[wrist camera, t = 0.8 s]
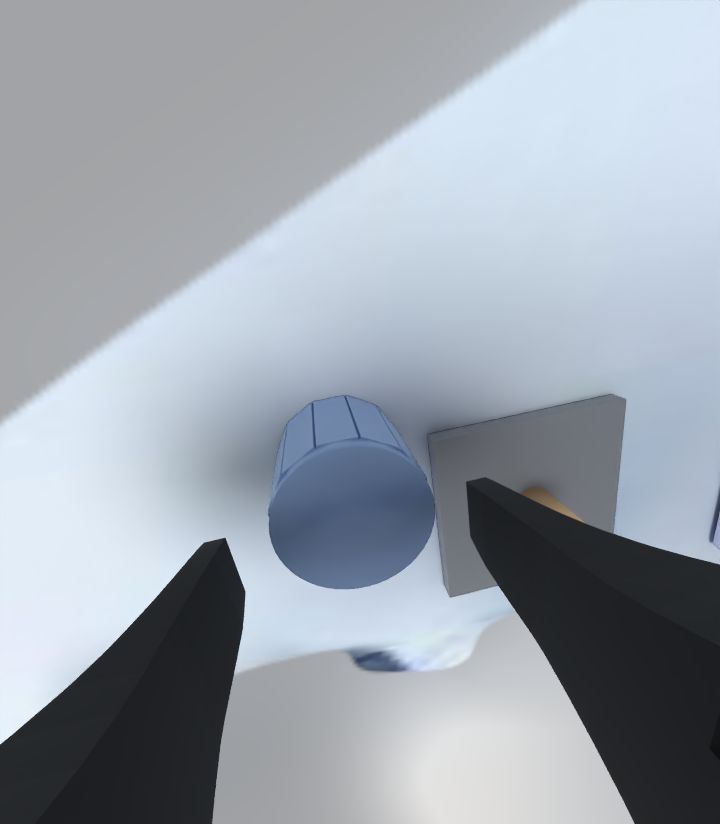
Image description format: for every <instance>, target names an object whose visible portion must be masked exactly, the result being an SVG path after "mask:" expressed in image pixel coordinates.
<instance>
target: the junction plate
mask: <svg viewBox="0 0 720 824" xmlns="http://www.w3.org/2000/svg"><path fill="white" fill-rule="evenodd" d="M625 408H626V399H625V398H622V397H619V396H616V395H613V394H610V395H606V396H601V397H597V398H592V399H587V400H583V401H578V402H574V403H569V404H565V405H560V406H555V407H551V408H546V409H542V410H537V411H533V412H528V413H523V414H519V415H514V416H510V417H505V418H501V419H496V420H491V421H487V422H482V423H478V424H473V425H469V426H464V427H459V428H455V429H450V430H446V431H441V432H437V433H432V434H427V436H428V445H429V454H430V462H431V471H432V480H433V489H434V498H435V506H436V515H437V524H438V533H439V542H440V551H441V559H442V568H443V577H444V586H445V588H446V590H447V592H448V594H449V597H450V598H451V597H455V596H459V595H463V594H467V593H471V592H475V591H478V590H482V589H486V588H490V587H494V586H498V584H497V583H496V581H495V580H494V578H493V577H492V575H491V574H490V572H489V571H488V569H487V568H486V566H485V564H484V562H483V561H482V559H481V557H480V555H479V553H478V551H477V549H476V547H475V545H474V543H473V541H472V539H471V537H470V528H469V515H468V502H467V489H466V481H471V480H475V479H479V478H484V477H486V478H489V479H491V480H493V481H495V482H497V483H499V484H501V485H503V486H505V487H507V488H509V489H511V490H513V491H515V492H517V493H520V494H522V495H524V496H526V497H528V498H530V499H532V500H534V501H536V502H538V503H540V504H542V505H544V506H547V507H549V508H551V509H553V510H555V511H558V512H560V513H562V514H564V515H567V516H569V517H571V518H574V519H576V520H579V521H581V522H583V523H586V524H588V525H591V526H593V527H596V528H599V529H601V530H604V531H607V532H610V533H614V523H615V512H616V502H617V491H618V481H619V471H620V460H621V450H622V439H623V429H624V419H625Z"/></svg>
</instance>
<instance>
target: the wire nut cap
mask: <svg viewBox="0 0 720 824" xmlns="http://www.w3.org/2000/svg"><path fill="white" fill-rule="evenodd" d="M268 515H269V533H270V538H271V542H272V545H273V547H274V550H275V552H276V554H277V555H278V557H279V559H280V560H281V561H282V562H283V564H284V565H285V566H286V567H287V568H288V569H289V570H290V571H291V572H293V573H294V574H295V575H297V576H298V577H300V578H302V579H304V580H306V581H307V582H310V583H312V584H315V585H318V586H322V587H326V588H333V589H355V588H362V587H367V586H371V585H374V584H377V583H380V582H382V581H384V580H387V579H389V578H391V577H392V576H394V575H396V574H397V573H399V572H400V571H402V570H403V569H405V568H406V567H407V566H408V565H409V564H410V563H412V562H413V560H414V559H415V558H416V557H417V556H418V555H419V554H420V552H421V551H422V550H423V548H424V547H425V545H426V543H427V541H428V539H429V537H430V534H431V532H432V528H433V525H434V518H435V504H434V498H433V494H432V492H431V489H430V486H429V485H428V483H427V477H426V475H425V474H424V472H423V470H422V469H421V467H420V466H419V464H418V463H417V461H416V459H415V458H414V456H413V455H412V453H411V451H410V450H409V448H408V447H407V445H406V444H405V442H404V440H403V439H402V437H401V436H400V434H399V433H398V431H397V429H396V428H395V426H394V425H393V424H392V423H391V422H390V421H389V419H388V418H387V417H386V416H385V415H384V414H383V413H382V411H381V410H380V409H379V408H378V407H377V406H375V404H372V403H369V402H365V401H362V400H359V399H356V398H353V397H350V396H345V397H344V395H343V396H338V397H333V398H328V399H323V400H318V401H313V404H312V403H310V404H309V405H308V406H306V407H305V408H304V409H303V410H302V411H301V412H299V413H298V414H297V415H296V416H295V417H294V418H293V419H291V420H290V421H289V422H288V424H287V425H286V428H285V431H284V434H283V437H282V440H281V443H280V446H279V450H278V454H277V460H276V466H275V472H274V478H273V484H272V490H271V497H270V503H269V509H268Z"/></svg>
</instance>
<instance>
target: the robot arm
mask: <svg viewBox="0 0 720 824" xmlns="http://www.w3.org/2000/svg"><path fill="white" fill-rule="evenodd" d="M466 489H467V502H468V515H469V528H470V537H471V539H472V541H473V543H474V545H475V547H476V549H477V551H478V553H479V555H480V557H481V559H482V561H483V562H484V564H485V566H486V568H487V569H488V571H489V572H490V574H491V575H492V577H493V578H494V580H495V581H496V583H497V584H498V586H499V587H500V589H501V590H502V592H503V593H504V594H505V596H506V597H507V599H508V600H509V602H510V603H511V605H512V606H513V608H514V609H515V610H516V612H517V613H518V615H519V616H520V618H521V619H522V620H523V622H524V624H525V625H526V626H527V628H528V629H529V631H530V632H531V633H532V635H533V637H534V638H535V640H536V641H537V643H538V644H539V646H540V648H541V649H542V651H543V652H544V654H545V656H546V657H547V659H548V661H549V663H550V665H551V666H552V668H553V670H554V672H555V673H556V675H557V677H558V678H559V680H560V682H561V684H562V686H563V687H564V689H565V691H566V693H567V695H568V697H569V698H570V700H571V702H572V704H573V706H574V708H575V709H576V711H577V713H578V715H579V717H580V719H581V720H582V722H583V724H584V726H585V728H586V730H587V732H588V733H589V735H590V737H591V739H592V741H593V743H594V744H595V747H596V749H597V750H598V753H599V754H600V756H601V758H602V760H603V762H604V764H605V766H606V767H607V770H608V772H609V774H610V775H611V778H612V780H613V781H614V783H615V785H616V787H617V789H618V791H619V793H620V795H621V797H622V799H623V801H624V803H625V805H626V807H627V809H628V811H629V813H630V815H631V817H632V819H633V821H634V823H635V824H720V565H719V564H715V563H711V562H707V561H703V560H699V559H695V558H691V557H687V556H684V555H680V554H677V553H673V552H669V551H666V550H662V549H659V548H655V547H652V546H649V545H645V544H642V543H639V542H636V541H633V540H630V539H627V538H624V537H621V536H618V535H615V534H613V533H610V532H607V531H604V530H601V529H599V528H596V527H593V526H591V525H588V524H586V523H583V522H581V521H579V520H576V519H574V518H571V517H569V516H567V515H564V514H562V513H560V512H558V511H555V510H553V509H551V508H549V507H547V506H544V505H542V504H540V503H538V502H536V501H534V500H532V499H530V498H528V497H526V496H524V495H522V494H520V493H517V492H515V491H513V490H511V489H509V488H507V487H505V486H503V485H501V484H499V483H497V482H495V481H493V480H491V479H489V478H486V477H484V478H479V479H475V480H471V481H466ZM713 544H714V545H715V546H716V547H717V548H719V549H720V513H719V518H718V522H717V527H716V531H715V536H714V540H713ZM244 607H245V589H244V587H243V584H242V581H241V579H240V576H239V573H238V571H237V568H236V565H235V562H234V560H233V557H232V554H231V552H230V549H229V546H228V544H227V541H226V538H223V539H218V540H214V541H210V542H206V543H203V544H202V545H201V546H200V548H199V549H198V550H197V551H196V552H195V553H194V554H193V555H192V557H191V558H190V559H189V560H188V561H187V562H186V564H185V565H184V566H183V567H182V568H181V569H180V571H179V572H178V573H177V574H176V575H175V576H174V578H173V579H172V580H171V581H170V582H169V583H168V585H167V586H166V587H165V588H164V589H163V590H162V591H161V593H160V594H159V595H158V596H157V597H156V598H155V599H154V601H153V602H152V603H151V604H150V605H149V606H148V607H147V608H146V609H145V610H144V612H143V613H142V614H141V615H140V616H139V617H138V618H137V619H136V620H135V621H134V622H133V623H132V624H131V625H130V627H129V628H128V629H127V630H126V631H125V632H124V633H123V634H122V635H121V636H120V637H119V638H118V639H117V640H116V641H115V642H114V643H113V644H112V645H111V646H110V647H109V648H108V649H107V650H106V651H105V652H104V653H103V654H102V655H101V656H100V657H99V658H98V659H97V660H96V661H95V662H94V663H93V664H92V665H91V666H90V667H89V668H88V669H87V670H86V671H85V672H83V673H82V674H81V675H80V676H79V677H78V678H77V679H76V680H75V681H74V682H73V683H72V684H71V685H69V686H68V687H67V688H66V689H65V690H64V691H63V692H62V693H61V694H59V695H58V696H57V697H56V698H55V699H54V700H52V701H51V702H50V703H49V704H48V705H47V706H45V707H44V708H43V709H42V710H41V711H40V712H38V713H37V714H36V715H35V716H34V717H33V718H31V719H30V720H29V721H28V722H27V723H26V724H24V725H23V726H22V727H21V728H20V729H19V730H17V731H16V732H15V733H14V734H13V735H11V736H10V737H9V738H8V739H7V740H5V741H4V742H3V743H2V744H0V824H212V818H213V807H214V797H215V788H216V779H217V769H218V762H219V752H220V744H221V738H222V732H223V726H224V720H225V715H226V710H227V705H228V700H229V695H230V690H231V686H232V681H233V676H234V671H235V666H236V661H237V656H238V651H239V645H240V640H241V635H242V630H243V620H244Z"/></svg>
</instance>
